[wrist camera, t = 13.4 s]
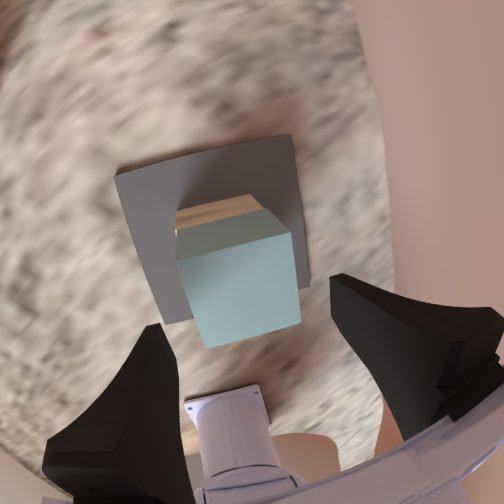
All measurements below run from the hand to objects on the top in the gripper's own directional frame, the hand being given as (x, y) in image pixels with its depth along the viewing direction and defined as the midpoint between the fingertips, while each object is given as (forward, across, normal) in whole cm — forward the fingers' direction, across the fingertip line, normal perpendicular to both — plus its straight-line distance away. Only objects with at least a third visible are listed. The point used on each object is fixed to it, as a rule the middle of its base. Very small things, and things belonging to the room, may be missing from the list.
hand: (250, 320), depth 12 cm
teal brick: (+6, 0, 0) cm, 6 cm away
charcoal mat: (+10, 0, 0) cm, 10 cm away
